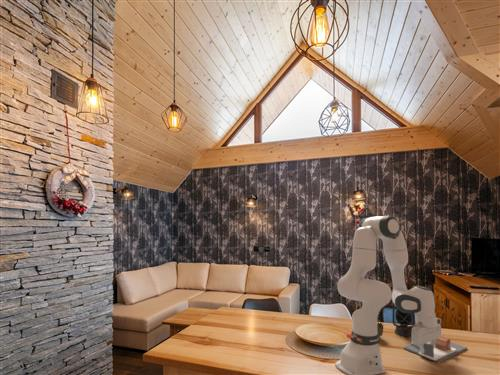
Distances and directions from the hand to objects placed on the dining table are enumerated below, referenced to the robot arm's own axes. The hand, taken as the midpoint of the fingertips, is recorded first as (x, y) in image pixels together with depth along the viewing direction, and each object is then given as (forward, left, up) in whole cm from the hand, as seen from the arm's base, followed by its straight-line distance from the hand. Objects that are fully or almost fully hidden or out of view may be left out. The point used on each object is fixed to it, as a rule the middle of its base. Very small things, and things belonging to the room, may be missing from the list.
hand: (427, 350), depth 140 cm
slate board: (+15, +4, -4) cm, 16 cm away
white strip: (+9, 0, -3) cm, 10 cm away
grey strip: (+17, +8, -3) cm, 19 cm away
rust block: (+14, 0, -2) cm, 14 cm away
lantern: (+21, +24, -4) cm, 32 cm away
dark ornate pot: (+1, +28, -4) cm, 29 cm away
